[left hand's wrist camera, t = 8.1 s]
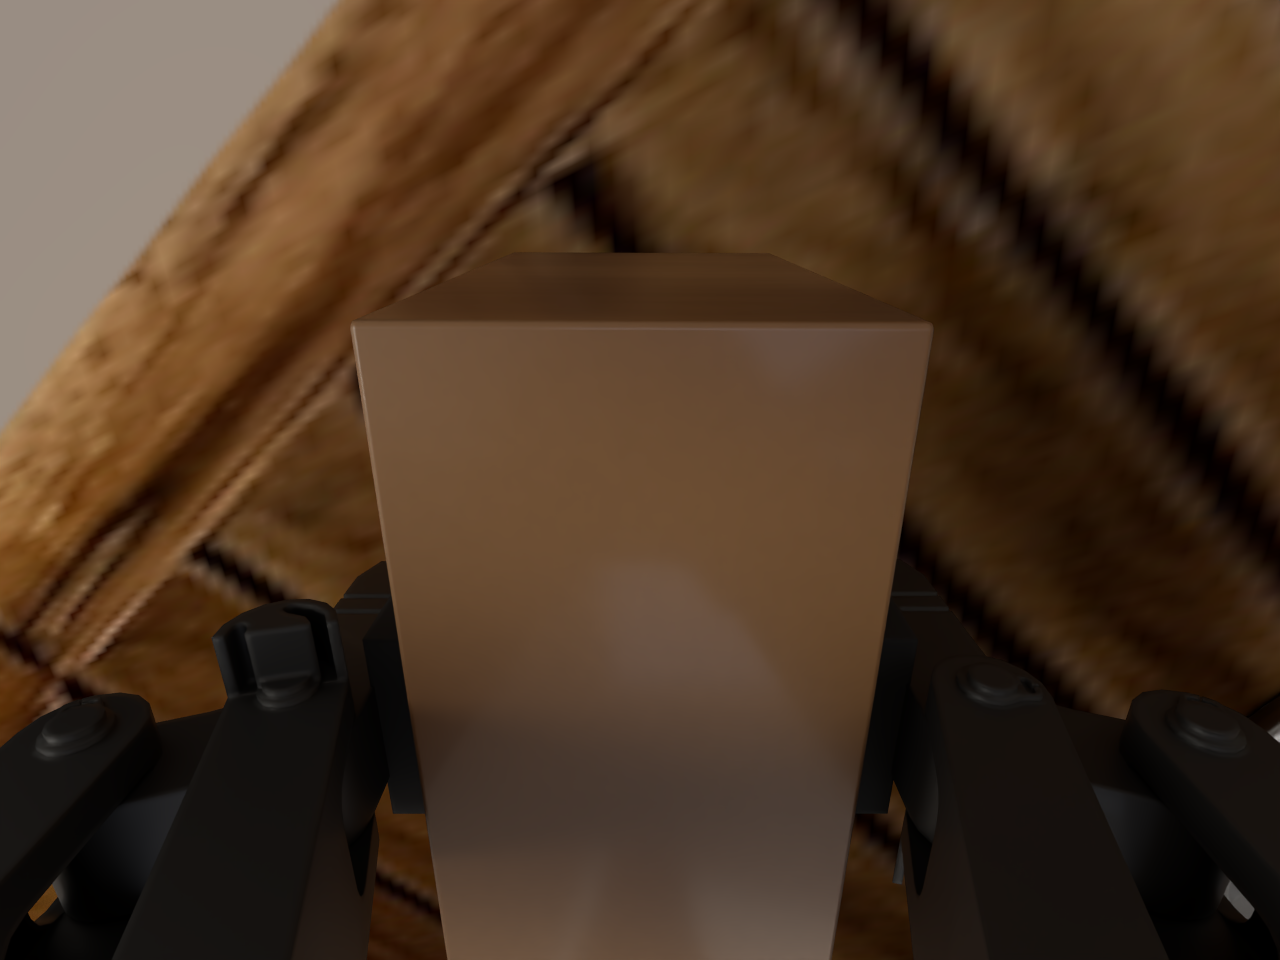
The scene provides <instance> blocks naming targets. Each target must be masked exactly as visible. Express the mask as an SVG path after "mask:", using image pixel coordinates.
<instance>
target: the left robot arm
mask: <svg viewBox="0 0 1280 960" xmlns="http://www.w3.org/2000/svg"><path fill="white" fill-rule="evenodd" d="M212 641H213V645H214V648H215V652H216V656H217V659H218V663H219V667H220V670H221V674H222V678H223V681H224V685H225V689H226V692H227V696H228V699H227V701H226V703H225V705H224V708H222V709H218V710H215V711H211V712H207V713H202V714H197V715H192V716H187V717H183V718H178V719H173V720H168V721H163V722H158V723H156V722H155V719H154V716H153V713H152V710H151V707H150V704H149V703H148V702H147V701H146V700H144V699H143V698H142V697H141V696H139V695H134V694H127V693H113V694H104V695H96V696H91V697H87V698H83V700H76V701H73V702H71V703H68V704H65V705H63V706H62V707H60V708H58V709H56V710H54V711H52V712H50V713H48V714H46V715H43V716H41V717H40V718H38V719H37V720H35V721H34V722H32V723H31V724H30V725H28V726H27V727H25V728H24V729H22V730H21V731H20V732H18V733H17V734H16V735H15V736H13V737H12V738H11V739H10V740H9V741H8V742H6V743H5V744H4V745H3V746H2V747H1V748H0V960H367V951H368V941H369V932H370V923H371V913H372V904H373V894H374V885H375V876H376V866H377V857H378V847H379V834H378V828H377V822H376V817H375V810H376V807H377V805H378V803H379V800H380V798H381V796H382V793H383V791H384V789H385V787H386V784H387V782H388V788H389V793H390V799H391V804H392V810H393V814H425V809H424V803H423V796H422V790H421V783H420V777H419V770H418V764H417V757H416V751H415V744H414V738H413V731H412V725H411V718H410V712H409V705H408V699H407V692H406V686H405V679H404V673H403V666H402V660H401V653H400V647H399V640H398V634H397V627H396V621H395V614H394V608H393V601H392V595H391V588H390V582H389V575H388V569H387V562H386V561H381V562H380V563H378V564H377V565H375V566H374V567H372V568H370V569H369V570H367V571H366V572H364V573H363V574H361V575H360V576H358V577H357V578H356V579H355V581H354V582H353V583H352V585H351V586H350V587H349V589H348V590H347V591H346V593H345V594H344V598H341V599H340V601H339V602H338V603H337V604H336V606H335V607H334V608H332V607H331V606H330V605H328V604H327V603H325V602H320V601H316V600H311V599H295V600H284V601H279V602H275V603H270V604H265V605H262V606H260V607H257V608H254V609H252V610H249V611H247V612H244V613H242V614H240V615H238V616H237V617H235V618H234V619H232V620H230V621H229V622H227V623H225V624H224V625H223V626H222V627H221V628H220V629H219V630H218V631H217V632H216V634H215V635H214V636H213V637H212ZM893 780H894V782H895V784H896V787H897V789H898V791H899V793H900V796H901V798H902V800H903V802H904V805H905V807H906V812H905V817H904V822H903V827H902V833H901V838H900V843H899V848H898V854H897V859H896V864H895V870H894V876H893V883H897V884H902V880H903V875H904V874H905V883H906V893H907V902H908V911H909V921H910V930H911V939H912V949H913V958H914V960H1280V696H1279V697H1278V698H1276V699H1274V700H1273V701H1271V702H1270V703H1269V704H1267V705H1266V706H1264V707H1263V708H1261V709H1260V710H1259V711H1257V712H1256V713H1255V714H1253V715H1252V716H1251V717H1249V718H1247V717H1245V716H1244V715H1242V714H1241V713H1239V712H1236V711H1234V710H1232V709H1230V708H1228V707H1226V706H1224V705H1222V704H1220V703H1219V702H1217V701H1214V700H1211V699H1208V698H1206V697H1199V695H1195V694H1190V693H1185V692H1177V691H1169V690H1155V691H1148V692H1142V693H1141V694H1140V695H1139V696H1137V697H1136V698H1135V699H1133V700H1132V703H1131V706H1130V709H1129V712H1128V715H1127V718H1126V720H1122V719H1117V718H1113V717H1108V716H1103V715H1098V714H1093V713H1088V712H1083V711H1078V710H1073V709H1070V708H1066V707H1062V706H1058V705H1056V704H1055V702H1054V700H1053V697H1052V696H1051V695H1050V693H1049V692H1048V691H1047V689H1046V688H1045V687H1044V685H1043V684H1042V683H1041V682H1040V681H1039V680H1037V679H1036V678H1035V677H1033V676H1032V675H1030V674H1029V673H1028V672H1026V671H1025V670H1023V669H1021V668H1019V667H1016V666H1014V665H1012V664H1010V663H1007V662H1005V661H1003V660H999V659H995V658H991V657H987V656H985V654H984V653H983V652H982V650H981V649H980V648H979V647H978V645H977V644H976V643H975V641H974V640H973V639H972V637H971V636H970V635H969V633H968V632H967V631H966V629H965V628H964V627H963V626H962V624H961V623H960V622H959V620H958V619H957V618H956V616H955V615H954V614H953V612H952V611H949V607H948V606H947V605H946V603H945V602H944V601H943V599H942V598H941V597H940V596H937V592H936V590H935V589H934V588H933V586H932V585H931V584H930V582H929V581H928V580H927V578H926V577H925V576H924V575H923V574H922V573H920V572H919V571H917V570H916V569H914V568H912V567H911V566H909V565H908V564H906V563H905V562H903V561H901V560H900V559H896V565H895V572H894V578H893V584H892V590H891V596H890V602H889V608H888V615H887V621H886V627H885V633H884V639H883V645H882V651H881V658H880V664H879V670H878V676H877V682H876V688H875V694H874V700H873V707H872V713H871V719H870V725H869V731H868V737H867V743H866V750H865V756H864V762H863V768H862V774H861V780H860V786H859V793H858V799H857V805H856V811H855V813H881V814H887V813H888V807H889V802H890V796H891V790H892V785H893ZM51 884H53V887H54V889H55V891H56V893H57V896H58V897H57V899H56V900H55V901H54V902H53V904H52V905H51V906H50V907H49V908H48V910H47V911H46V912H45V913H43V914H42V915H41V916H40V917H39V918H38V919H37V920H36V921H33V920H31V918H30V916H29V914H28V911H29V910H30V909H31V908H32V907H33V906H34V904H35V903H36V902H37V901H38V900H39V899H40V897H41V896H42V895H43V894H44V893H45V891H46V890H47V889H48V888H49V887H50V886H51Z"/></svg>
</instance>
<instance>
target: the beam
mask: <svg viewBox="0 0 1280 960" xmlns="http://www.w3.org/2000/svg"><path fill="white" fill-rule="evenodd" d="M350 329H351V335H352V342H353V348H354V355H355V361H356V368H357V374H358V381H359V387H360V394H361V400H362V407H363V413H364V420H365V426H366V433H367V439H368V446H369V452H370V459H371V465H372V472H373V478H374V485H375V491H376V498H377V504H378V511H379V517H380V523H381V530H382V536H383V543H384V549H385V556H386V562H387V569H388V575H389V582H390V588H391V595H392V601H393V608H394V614H395V621H396V627H397V634H398V640H399V647H400V653H401V660H402V666H403V673H404V679H405V686H406V692H407V699H408V705H409V712H410V718H411V725H412V731H413V738H414V744H415V751H416V757H417V764H418V770H419V777H420V783H421V790H422V796H423V803H424V809H425V816H426V822H427V829H428V835H429V842H430V848H431V855H432V861H433V868H434V874H435V881H436V887H437V894H438V900H439V907H440V913H441V920H442V926H443V933H444V939H445V945H446V952H447V958H448V960H831V958H832V952H833V946H834V940H835V934H836V928H837V921H838V915H839V909H840V903H841V897H842V891H843V885H844V878H845V872H846V866H847V860H848V854H849V848H850V842H851V835H852V829H853V823H854V817H855V811H856V805H857V799H858V793H859V786H860V780H861V774H862V768H863V762H864V756H865V750H866V743H867V737H868V731H869V725H870V719H871V713H872V707H873V700H874V694H875V688H876V682H877V676H878V670H879V664H880V658H881V651H882V645H883V639H884V633H885V627H886V621H887V615H888V608H889V602H890V596H891V590H892V584H893V578H894V572H895V565H896V559H897V553H898V547H899V541H900V535H901V529H902V523H903V516H904V510H905V504H906V498H907V492H908V486H909V480H910V473H911V467H912V461H913V455H914V449H915V443H916V437H917V430H918V424H919V418H920V412H921V406H922V400H923V394H924V388H925V381H926V375H927V369H928V363H929V357H930V351H931V345H932V338H933V332H934V328H933V324H932V323H930V322H928V321H926V320H923V319H921V318H919V317H916V316H914V315H912V314H909V313H907V312H905V311H902V310H900V309H898V308H895V307H893V306H891V305H888V304H886V303H884V302H881V301H879V300H877V299H874V298H872V297H870V296H867V295H865V294H863V293H860V292H858V291H856V290H853V289H851V288H849V287H846V286H844V285H842V284H839V283H837V282H835V281H832V280H830V279H828V278H825V277H823V276H821V275H818V274H816V273H814V272H811V271H809V270H807V269H804V268H802V267H800V266H797V265H795V264H793V263H790V262H788V261H786V260H783V259H781V258H779V257H776V256H774V255H772V254H769V253H512V254H510V255H507V256H505V257H503V258H500V259H498V260H495V261H493V262H491V263H488V264H486V265H484V266H481V267H479V268H477V269H474V270H472V271H469V272H467V273H465V274H462V275H460V276H458V277H455V278H453V279H451V280H448V281H446V282H444V283H441V284H439V285H436V286H434V287H432V288H429V289H427V290H425V291H422V292H420V293H418V294H415V295H413V296H410V297H408V298H406V299H403V300H401V301H399V302H396V303H394V304H392V305H389V306H387V307H384V308H382V309H380V310H377V311H375V312H373V313H370V314H368V315H366V316H363V317H361V318H359V319H356V320H354V321H352V323H351V327H350Z"/></svg>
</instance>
